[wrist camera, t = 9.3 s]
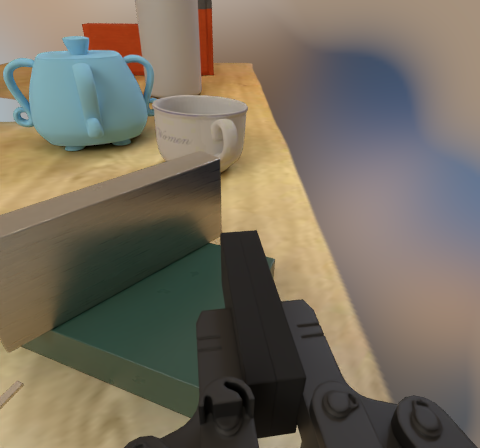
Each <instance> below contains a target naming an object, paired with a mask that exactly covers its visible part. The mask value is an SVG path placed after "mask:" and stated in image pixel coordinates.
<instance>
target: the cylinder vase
mask: <svg viewBox="0 0 480 448" xmlns="http://www.w3.org/2000/svg"><path fill="white" fill-rule="evenodd" d="M135 5H136V12H137V20H138V28H139V35H140V43H141V51H142V57H143V58H145V59H146V60H147V61H148V62H149V63H150V64H151V65H152V67H153V71H154V83H153V88H152V93H151V96H153V97H157V98H165V97H170V96H179V95H198V94H200V93H201V91H202V85H201V63H200V41H199V20H198V0H135ZM144 74H145V81H146V82H147V71H146V68H145V67H144Z"/></svg>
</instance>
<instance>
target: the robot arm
mask: <svg viewBox="0 0 480 448" xmlns="http://www.w3.org/2000/svg"><path fill="white" fill-rule="evenodd" d="M220 241H221V281H222V290H223V296H224V303H225V308H223V309H214V310H204V311H201V313H200V315H199V318H198V320H197V322H196V337H197V358H198V379H199V404H198V407H197V410H196V412H195V413H194V415H193V417H192V418H191V419H190V420H189V421H188V422H187V423H186V424H185V425H184V426H182V427H181V428H179V429H178V430H176V431H174V432H172V433H170V434H168V435H166V436H165V437H163V438H161V439H159V438H157V437H154V436H144V437H139V438H137V439H135V440H133V441H131V442H129V443H128V444H127V445H126V446H125V447H124V448H259V445H258V439H257V438H264V437H270V436H277V435H283V434H289V433H295V432H296V427H297V425H298V429H299V432H300V436H301V439H302V443H301V447H300V448H477V447H476V445H475V444H474V443H473V442H472V441H471V440H470V439H469V438H468V437H467V435H466V434H465V433H464V432H463V431H462V430H461V429H460V428H459V427H458V425H457V424H456V423H455V422H454V421H453V420H452V419H451V418H450V417H449V415H448V414H447V413H446V412H445V411H444V410H442V409H441V408H440V407H439V406H438V405H437V404H435V403H434V402H432V401H430V400H428V399H426V398H424V397H419V396H409V397H405V398H404V399H402V400H401V401H400V402H399V403H398V404H393V403H388V402H383V401H377V400H373V399H369V398H366V397H364V396H362V395H360V394H358V393H357V392H356V391H354V390H353V389H352V388H351V387H350V386H349V385H348V384H347V383H346V382H345V380H344V378H343V376H342V374H341V372H340V370H339V368H338V365H337V363H336V361H335V358H334V356H333V354H332V352H331V349H330V347H329V345H328V342H327V340H326V338H325V336H324V333H323V331H322V329H321V326H320V325H319V322H318V319H317V317H316V315H315V313H314V310H313V309H312V308H311V307H310V306H309V305H308V304H307V303H306V302H305V301H304V300H303V299H302V300H293V301H283V302H281V301H280V298H279V295H278V292H277V289H276V286H275V283H274V280H273V277H272V274H271V271H270V268H269V265H268V262H267V259H266V256H265V253H264V250H263V248H262V245H261V242H260V239H259V236H258V233H257V230H255V231H242V232H228V233H220Z"/></svg>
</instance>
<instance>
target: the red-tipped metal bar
mask: <svg viewBox="0 0 480 448" xmlns="http://www.w3.org/2000/svg"><path fill="white" fill-rule="evenodd" d="M220 233H222V225H221V177H220V158H218V157H215V156H213V155H210V154H208V153H205V152H203V151H197V152H194V153H191V154H188V155H185V156H182V157H179V158H176V159H172V160H169V161H166V162H163V163H160V164H157V165H154V166H151V167H148V168H145V169H141V170H138V171H135V172H132V173H129V174H126V175H123V176H120V177H117V178H114V179H111V180H107V181H104V182H101V183H98V184H95V185H92V186H89V187H86V188H83V189H80V190H77V191H73V192H70V193H67V194H64V195H61V196H58V197H55V198H52V199H49V200H46V201H43V202H39V203H36V204H33V205H30V206H27V207H24V208H21V209H18V210H15V211H12V212H9V213H5V214H2V215H0V340H1V342H2V344H3V346H4V347H5V349H6V351H7V352H8V353H9V352H11V351H13V350H15V349H17V348H19V347H20V346H22V345H24V344H26V343H28V342H29V341H31V340H33V339H35V338H37V337H39V336H40V335H42V334H44V333H46V332H48V331H49V330H51V329H53V328H55V327H57V326H58V325H60V324H62V323H64V322H66V321H68V320H69V319H71V318H73V317H75V316H77V315H78V314H80V313H82V312H84V311H86V310H88V309H89V308H91V307H93V306H95V305H97V304H98V303H100V302H102V301H104V300H106V299H107V298H109V297H111V296H113V295H115V294H117V293H118V292H120V291H122V290H124V289H126V288H127V287H129V286H131V285H133V284H135V283H137V282H138V281H140V280H142V279H144V278H146V277H147V276H149V275H151V274H153V273H155V272H157V271H158V270H160V269H162V268H164V267H166V266H167V265H169V264H171V263H173V262H175V261H176V260H178V259H180V258H182V257H184V256H186V255H187V254H189V253H191V252H193V251H195V250H196V249H198V248H200V247H202V246H204V245H206V244H207V243H209V242H211V241H213V240H215V239H216V238H218V237H220Z"/></svg>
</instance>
